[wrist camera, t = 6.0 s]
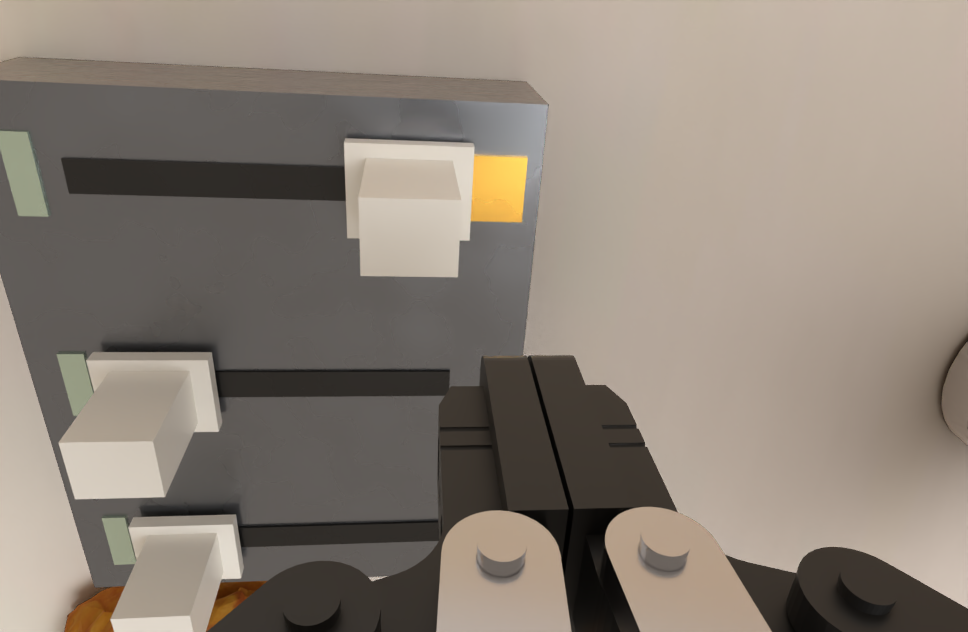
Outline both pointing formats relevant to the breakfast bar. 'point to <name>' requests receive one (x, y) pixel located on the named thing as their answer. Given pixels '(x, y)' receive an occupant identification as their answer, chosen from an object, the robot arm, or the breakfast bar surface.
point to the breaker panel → (260, 287)
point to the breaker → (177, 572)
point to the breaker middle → (139, 422)
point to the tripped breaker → (408, 204)
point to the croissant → (92, 618)
